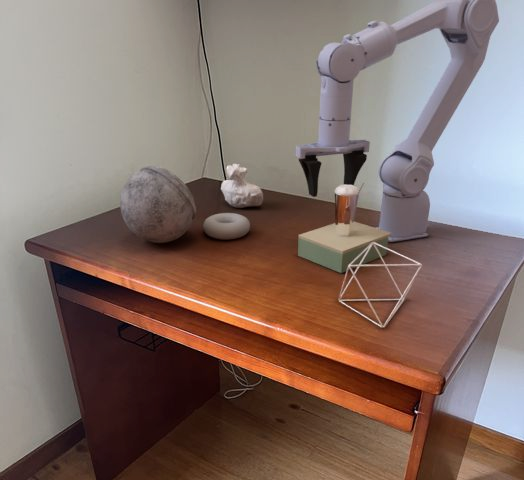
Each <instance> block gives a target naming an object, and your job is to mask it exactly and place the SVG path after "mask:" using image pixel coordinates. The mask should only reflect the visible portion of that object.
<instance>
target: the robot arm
mask: <svg viewBox="0 0 524 480" xmlns="http://www.w3.org/2000/svg"><path fill="white" fill-rule="evenodd" d="M499 22H500V17H499V11H498V4H497V1H496V0H435V1H432V2H431V3H429V4H427V5H426V6H424V7H422V8H420V9H418V10H416V11H415V12H413V13H411V14H409V15H407V16H405V17H404V18H402V19H400V20H398V21H396V22H395V23H393V24H389V23H387V22H384V21H378V20H372V21H369V22H368V23H367V28H364V29H363V30H360V31H358V32H356V33H354V34H351V33H347V34H345V35H344V36H343V37H342V38H343V40H342V41H341V42H330V43H327V44H325V46H323V47H322V50H320V52H319V54H318V57H317V60H315V67H316V71H317V73H318V74H319V75H320V92H319V93H320V94H319V112H318V113H319V115H318V134H317V135H318V136H317V137H318V138H317V139H318V140H317V142H316V141H315V142H311V143H308V144H307V143H306V144H302V145H301V144H300V145H295V157H296V158H297V159H298V162H299V164H300V166H301V168H302V171H303V174H304V176H305V180H306V185H307V189H308V195H309V196H311V197H313V198H315V197H318V191H319V190H318V189H319V177H320V171H321V168H322V164H323V163H322V162H321V161H320V160H319V158H318V157H323V156H324V157H325V156H335V155H342V157H343V167H344V168H343V169H344V172H343V173H344V174H343V184H346V185H353V186H355V183H356V180H357V178H358V175H359V173H360V171H361V169H362V167H363V166H364V164H365V163H366V162H367V159H368V154H366V153H370V152H369V151H370V145H371V142H370V141H369V140H366V139H356V140H355V139H350V135H351V124H352V123H351V121H352V110H353V109H352V107H353V105H352V104H353V93H354V82H355V81H354V80H355V79H356V78H357V76H358V75H359V74H360V72H361V71H363V70H366V69H367V68H370V67H371V66H373V65H376V64H378V63H380V62H382V61H384V60H386V59H388V58H390V57H392V56H393V55H394V53H395V50H396V48H397V46H398V45H400V44H402V43H404V42H407V41H410V40H412V39H414V38H417V37H418V36H421V35H424V34H426V33H429V32H431V31H433V30H435V29H437V30H439V32H440V34H441V36H442V37H443V39H444V41H445V43H446V45H447V47H448V49H449V52H450V61H449V63H448V64H447V66H446V68H445V70H444V72H443V73H442V75H441V77H440V79H439V81H438V82H437V84H436V86H435V87H434V89H433V92H432V93H431V94H430V96H429V98H428V100H427V101H426V103H425V106H424V107H423V109H422V111H421V113H420V114H419V116H418V118H417V119H416V121H415V123H414V125H413V126H412V129H411V130H410V132H409V134H408V135H407V137H406V138H405V139H404V140H402V141H401V142H398V144H396V145H395V146H394V148H393V149H392V150H391V152H390V153H389V154H388V155H387V156H385V157H384V159H382V161H381V163H380V165H379V168H378V177H379V179H380V181H381V182H382V196H381V197H382V198H381V204H380V215H379V223H378V226H376V227H374V228H377V229H380V230H383V231H386V232H389V233H391V236H390V237H388V243H395V242H402V241H407V240H413V239H420V238H426V237H428V236H429V233H427V228H428V223H429V215H430V208H431V201H430V196H429V195H428V193H427V192H426V191H425V189H426V187H427V185H428V183H429V179H430V173H431V171H432V169H433V167H434V166H435V160H434V156H433V150H434V148H435V146H436V145H437V144H438V141H439V140H440V138H441V136H442V134H443V133H444V131H445V129H446V128H447V126H448V124H449V123H450V121H451V119H452V117H453V115H454V114H455V112H456V110H457V109H458V107H459V105H460V104H461V102H462V101H463V98H464V97H465V95H466V93H467V92H468V90H469V88H470V86H471V85H472V84H473V81H474V79H475V78H476V76H477V74H478V72H479V71H480V69H481V68H482V66H483V64H484V63H485V60H486V56H487V52H488V47H489V43H490V40H491V37H492V34H493V33H494V31H495V29H496V28H497V26H498V24H499Z"/></svg>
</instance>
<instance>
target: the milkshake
mask: <svg viewBox="0 0 524 480" xmlns="http://www.w3.org/2000/svg"><path fill="white" fill-rule="evenodd" d="M364 185H365V182H362V184H361V186H360V188H359V187H357V186H355V185H354V186H353V185H346V184H344V183H343V184H342V183H341V184H339V185H338V186H337V187H336V188H335V189H334V223H335V234H337V235H339V236H350V235H352V232H353V226H354V221H356V213H357V207H358V203H359V199H360V193H361V190H362V188H363V186H364Z"/></svg>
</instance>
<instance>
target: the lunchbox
mask: <svg viewBox="0 0 524 480" xmlns="http://www.w3.org/2000/svg"><path fill="white" fill-rule="evenodd" d="M297 242H298V243H297V256H298V257H300V258H303V259H305V260H307V261H310V262H313V263H315V264H317V265H319V266H322V267H325V268H328V269H329V270H332V271H334V272H336V273H337V272H338V273H339V274H342V273H346V271H347V268H348V265H349V264H350V263H351V262H352V261H353V260H354V259H355V258H356V257H357V256H358V255H359V254H361V253H362V252H363V251H364V250H365V249H366V248H367V247H368V246H369V245H370V244H369V245H366V246H363V247H361V248H358V249H355V250H353V251H350V252H347V253H345V254H341V253H338V252H335V251H333V250H330V249H327V248H325V247H322V246H319V245H317V244H314V243H311V242H308V241H306V240H303V239H300V238H298V241H297ZM375 243H377V244H379V245H382V246H384V247H386V248H388V247H389V246H388V245H389V242H388V237H387V238H385V239H382V240H379V241H377V242H375ZM375 245H376V244H375ZM376 247H377V249H378V251H379V253H380V254H381V256H382V257H384V256H387V253H388V250H387V249H385V248H383V247H380V246H378V245H376ZM368 249H369V248H368ZM368 249H367V250H368ZM367 250H366V251H365V252H364V253H363V254H362V255H361V256H360V257H359V258H358V259H357V260H355V261H354V262H353V263H352V264H351V265H359V264H360V262H361V260H362V259H363V257H364V255H365V254H366V252H367ZM379 258H380V256H379V254H378V252H377V250H376V248H375V247H374V245H372V247H371V249H370V250H369V252H368V254H367V255H366V257H365V259H364V260H363V262H362V264H361V265H366V264H368V263H370V262H373V261H375V260H377V259H379ZM354 268H356V267H351V269H352V270H353V269H354ZM348 271H350V269H349V270H348Z"/></svg>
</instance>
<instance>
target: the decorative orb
mask: <svg viewBox="0 0 524 480" xmlns="http://www.w3.org/2000/svg"><path fill="white" fill-rule="evenodd" d="M196 206H197V205H196V204H195V199H194V196H193V193H192V191H191V190H190V189H189V187H188V186H187V184H185V182H184V181H183V180H182V179H181V178H180V177H179V176H177V175H176V174H174V173H173V172H172V171H171V170H168V169H167V168H164V167H156V166H154V165H153V166H152V165H148V166H144V167H142V168H140V170H138V171H136V172H134V173H133V174H132V175H131V176H130V177H129V178H128V179H127V180H126V182H125V184H124V185H123V187H122V190H121V194H120V199H119V209H120V213H121V216H122V218H123V221H124V223H125V224H126V227H128V229H129V230H130V231H131V232H132V233H133V234H134V235H136V236H137V237H138V238H140V239H142V240H144V241H146V242H149V243H155V244H166V243H169V242H173V241H175V240H177V239H179V238H181V237H182V236H183V235H184V234H185V233H186V232H187V231H188V230H189V229H190V227H191V226H192V223H193V220H194V219H195V218H196V213H197V207H196Z"/></svg>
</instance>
